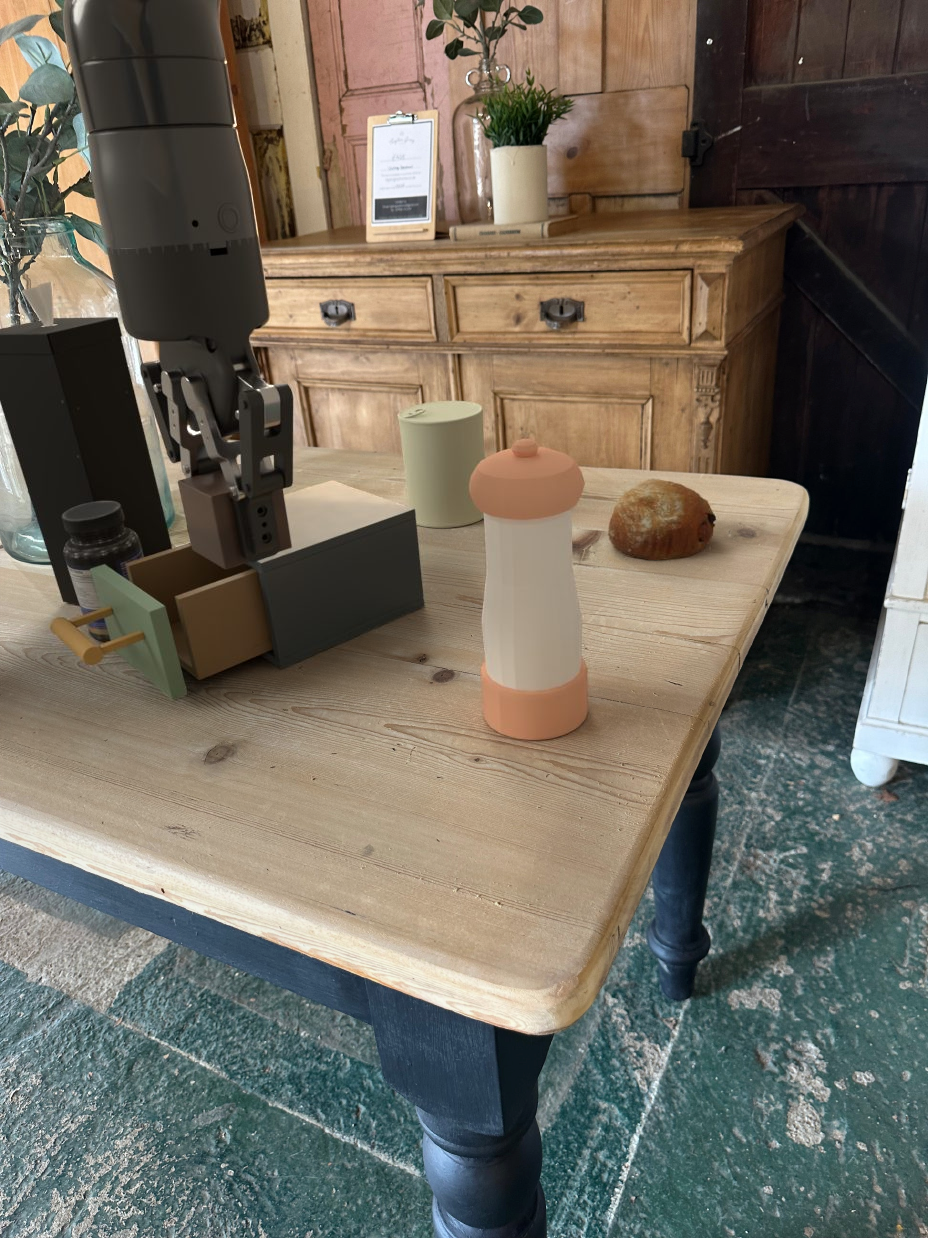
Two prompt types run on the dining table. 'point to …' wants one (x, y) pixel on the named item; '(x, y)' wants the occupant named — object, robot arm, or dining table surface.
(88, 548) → the pill bottle
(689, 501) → the bread roll
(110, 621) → the drawer
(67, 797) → the dining table surface
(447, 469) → the can
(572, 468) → the pepper shaker
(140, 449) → the black tall box
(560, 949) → the dining table surface
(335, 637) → the cabinet
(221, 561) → the block
